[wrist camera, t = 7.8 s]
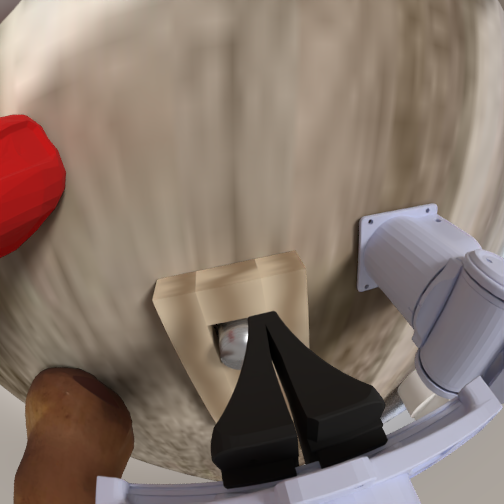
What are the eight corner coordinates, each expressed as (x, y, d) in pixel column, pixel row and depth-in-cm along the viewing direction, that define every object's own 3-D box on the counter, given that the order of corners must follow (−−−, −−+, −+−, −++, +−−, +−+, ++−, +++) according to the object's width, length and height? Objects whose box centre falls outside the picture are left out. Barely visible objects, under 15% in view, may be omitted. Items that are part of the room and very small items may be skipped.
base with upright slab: (420, 389, 43) (446, 433, 33) (389, 398, 41) (415, 448, 31) (444, 358, 40) (477, 403, 29) (414, 365, 38) (448, 418, 27)
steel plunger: (256, 299, 25) (265, 333, 21) (262, 330, 27) (271, 364, 23) (212, 308, 25) (215, 343, 21) (222, 338, 27) (226, 373, 23)
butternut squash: (41, 383, 28) (7, 531, 6) (46, 328, 24) (-16, 532, 2) (125, 419, 33) (120, 568, 11) (154, 377, 29) (154, 585, 7)
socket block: (294, 250, 24) (305, 268, 21) (304, 398, 35) (309, 415, 33) (157, 279, 23) (152, 300, 21) (220, 416, 35) (222, 433, 32)
